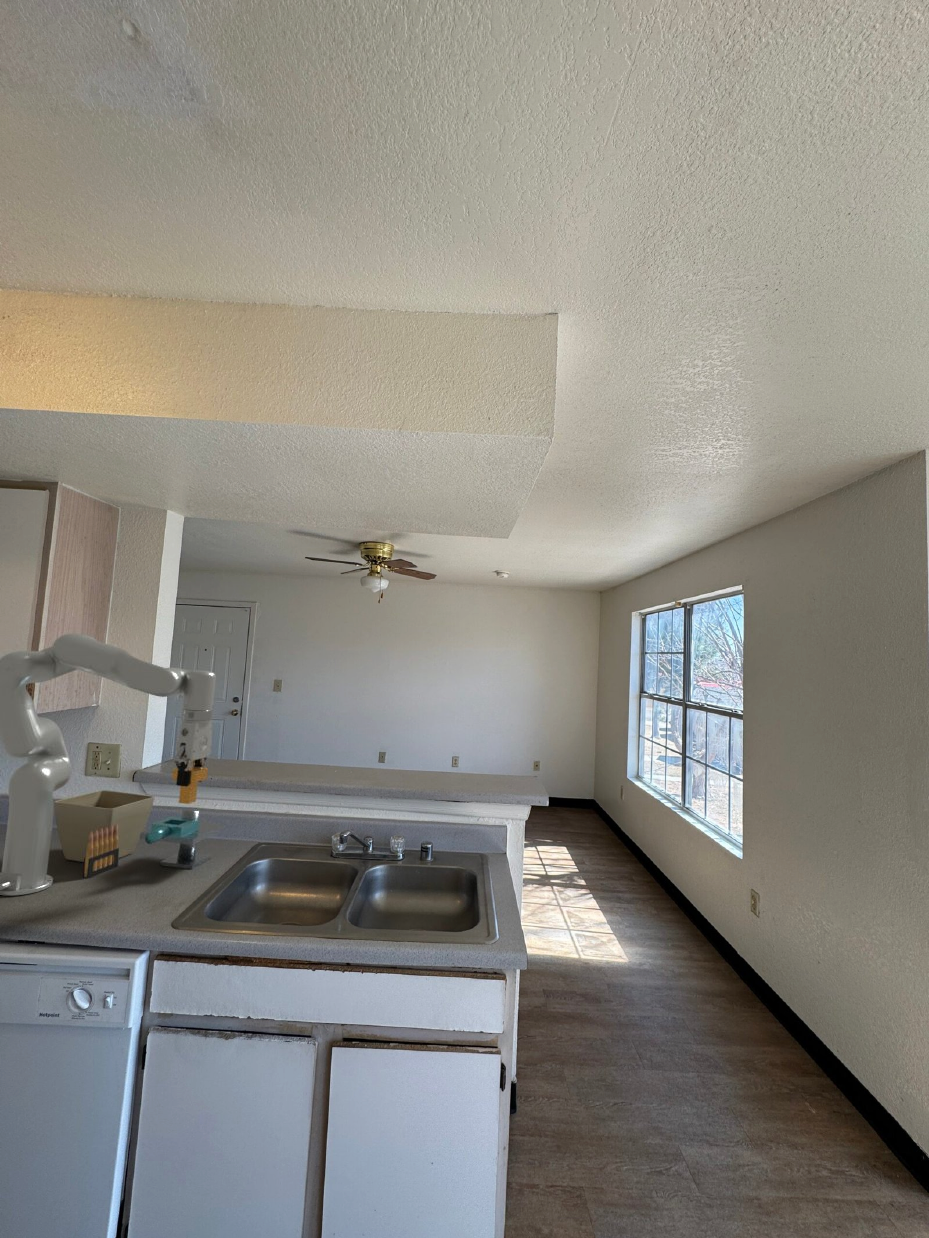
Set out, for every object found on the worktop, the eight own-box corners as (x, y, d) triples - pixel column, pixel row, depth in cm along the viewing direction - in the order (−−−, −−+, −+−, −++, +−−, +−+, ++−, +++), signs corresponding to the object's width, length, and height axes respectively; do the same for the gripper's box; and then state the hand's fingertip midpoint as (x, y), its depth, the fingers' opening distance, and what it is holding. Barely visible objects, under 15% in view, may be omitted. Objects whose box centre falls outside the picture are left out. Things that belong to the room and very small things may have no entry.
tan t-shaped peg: (204, 801, 166) (207, 767, 166) (192, 805, 160) (196, 771, 161) (182, 798, 167) (185, 765, 167) (169, 802, 161) (173, 768, 162)
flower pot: (96, 843, 191) (103, 788, 192) (150, 851, 187) (156, 795, 189) (45, 861, 172) (52, 801, 173) (103, 870, 169) (110, 809, 170)
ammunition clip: (87, 878, 163) (91, 832, 164) (81, 877, 163) (85, 831, 164) (118, 866, 173) (121, 822, 174) (112, 865, 174) (116, 822, 174)
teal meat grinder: (172, 852, 188) (178, 803, 189) (221, 858, 186) (226, 808, 187) (117, 880, 163) (123, 823, 164) (172, 887, 161) (179, 829, 162)
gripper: (191, 719, 156) (183, 791, 155) (225, 714, 173) (218, 779, 172) (164, 717, 157) (156, 788, 156) (201, 712, 174) (194, 776, 173)
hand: (189, 782), depth 164 cm, fingers closed on tan t-shaped peg, 5 cm apart
